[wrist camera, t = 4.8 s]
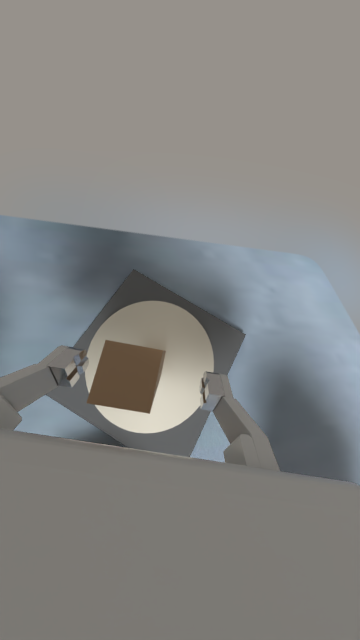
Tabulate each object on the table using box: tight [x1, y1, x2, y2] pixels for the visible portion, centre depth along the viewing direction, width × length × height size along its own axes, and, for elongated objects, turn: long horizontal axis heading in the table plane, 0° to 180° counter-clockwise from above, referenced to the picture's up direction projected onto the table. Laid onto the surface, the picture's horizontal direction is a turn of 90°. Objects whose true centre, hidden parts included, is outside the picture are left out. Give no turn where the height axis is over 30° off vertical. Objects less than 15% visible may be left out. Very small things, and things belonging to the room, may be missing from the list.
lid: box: [85, 301, 214, 433], centre depth 10 cm, size 13×13×10 cm
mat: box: [46, 270, 245, 457], centre depth 16 cm, size 16×16×1 cm
